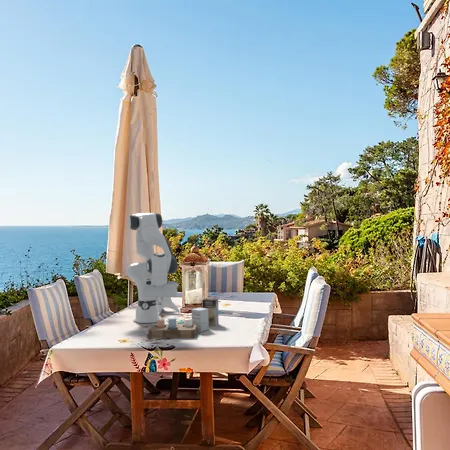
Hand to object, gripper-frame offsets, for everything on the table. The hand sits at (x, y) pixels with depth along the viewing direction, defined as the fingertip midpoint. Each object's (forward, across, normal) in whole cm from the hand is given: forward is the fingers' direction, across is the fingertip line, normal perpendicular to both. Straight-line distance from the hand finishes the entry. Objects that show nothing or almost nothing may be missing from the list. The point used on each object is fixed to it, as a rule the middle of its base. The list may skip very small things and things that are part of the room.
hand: (160, 304), depth 289 cm
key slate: (+12, -8, +8) cm, 17 cm away
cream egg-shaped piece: (+14, -16, +1) cm, 22 cm away
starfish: (+19, +14, -74) cm, 78 cm away
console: (+17, -8, +4) cm, 19 cm away
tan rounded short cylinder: (+15, 0, +1) cm, 15 cm away
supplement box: (+17, -22, -9) cm, 30 cm away
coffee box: (+17, -27, -24) cm, 40 cm away
